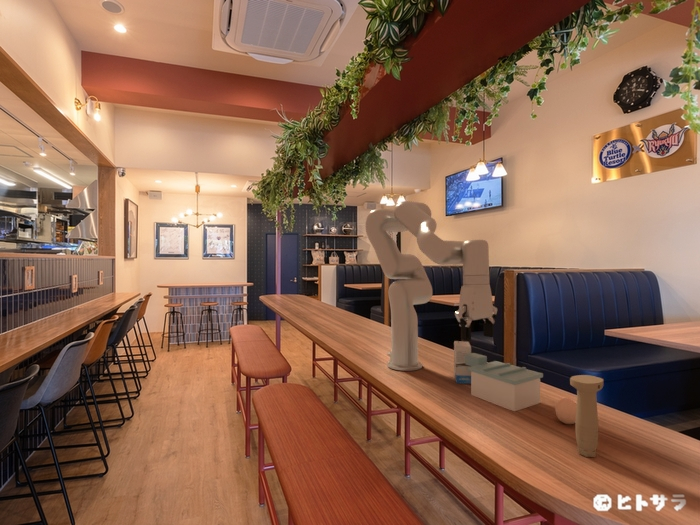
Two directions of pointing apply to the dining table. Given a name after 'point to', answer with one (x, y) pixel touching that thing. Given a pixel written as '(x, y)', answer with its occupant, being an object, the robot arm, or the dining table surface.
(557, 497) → the dining table surface
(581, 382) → the handle
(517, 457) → the dining table surface
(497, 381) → the tub
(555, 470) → the dining table surface
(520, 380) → the lid
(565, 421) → the egg
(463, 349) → the ink box
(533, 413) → the dining table surface
